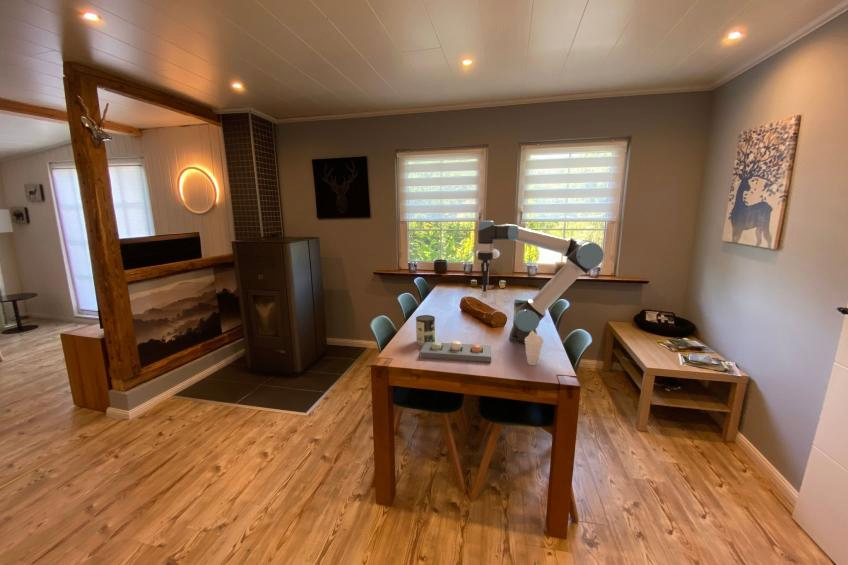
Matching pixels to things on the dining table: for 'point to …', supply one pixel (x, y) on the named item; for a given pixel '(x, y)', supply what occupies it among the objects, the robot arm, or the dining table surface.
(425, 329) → the coffee can
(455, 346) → the cream button
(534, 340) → the soft serve ice cream cone
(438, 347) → the sage button
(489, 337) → the dining table surface
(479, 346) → the terracotta button
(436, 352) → the button panel
